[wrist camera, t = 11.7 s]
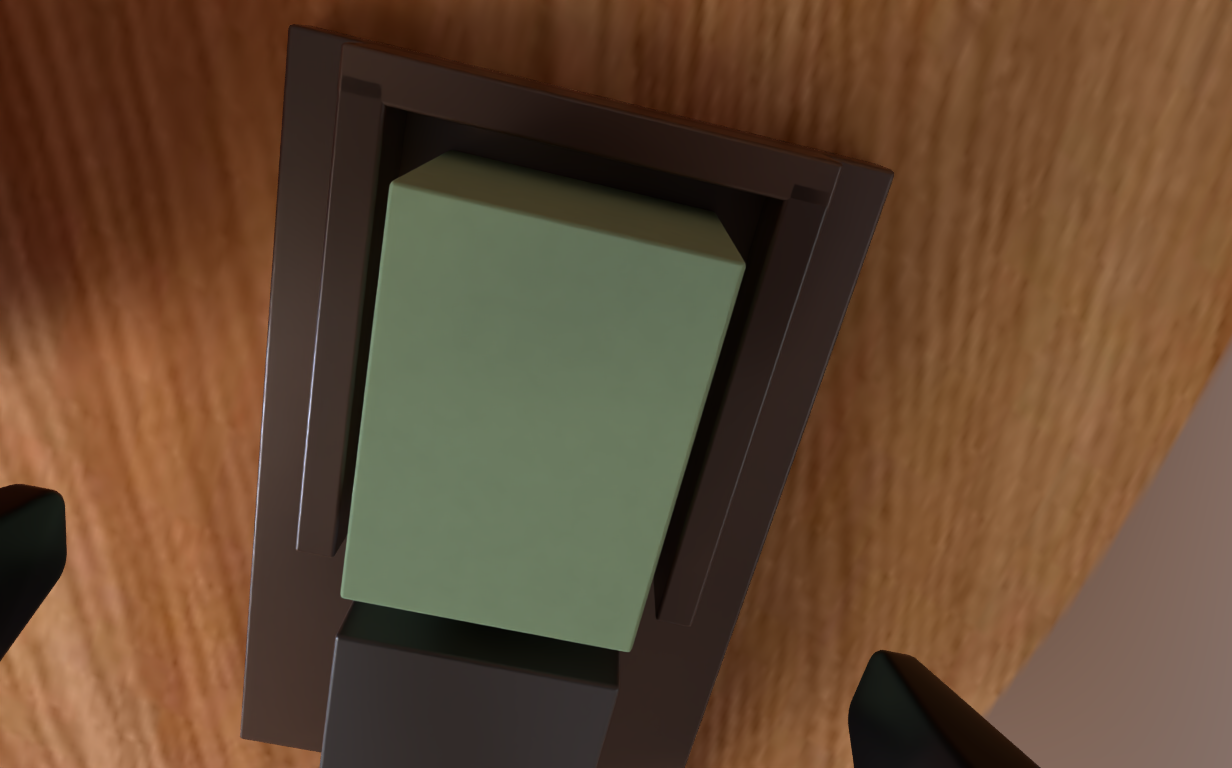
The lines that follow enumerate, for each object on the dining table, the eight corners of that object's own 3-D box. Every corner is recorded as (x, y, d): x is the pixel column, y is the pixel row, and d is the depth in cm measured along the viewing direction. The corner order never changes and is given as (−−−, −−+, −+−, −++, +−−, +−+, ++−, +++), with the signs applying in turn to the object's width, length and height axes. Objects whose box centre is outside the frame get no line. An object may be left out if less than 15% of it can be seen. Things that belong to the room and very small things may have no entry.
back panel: (880, 165, 15) (991, 210, 11) (667, 782, 22) (679, 980, 17) (308, 25, 15) (161, 8, 10) (255, 709, 21) (150, 896, 16)
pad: (716, 212, 15) (747, 263, 11) (629, 527, 17) (631, 654, 14) (448, 148, 14) (388, 180, 11) (400, 481, 17) (338, 599, 13)
